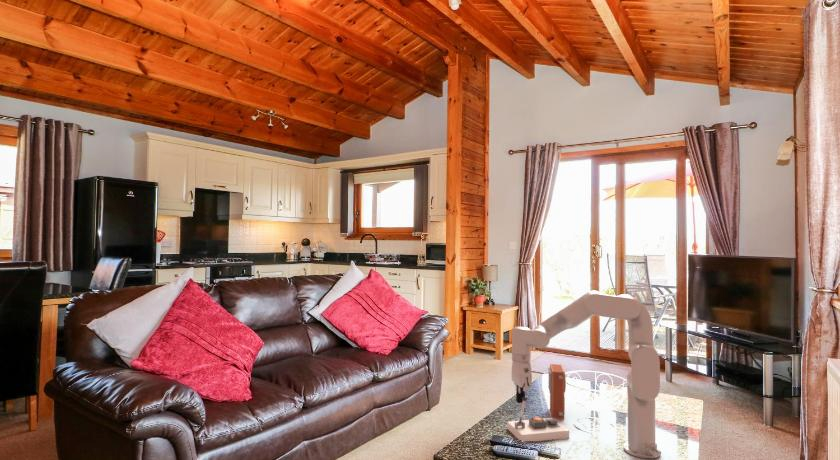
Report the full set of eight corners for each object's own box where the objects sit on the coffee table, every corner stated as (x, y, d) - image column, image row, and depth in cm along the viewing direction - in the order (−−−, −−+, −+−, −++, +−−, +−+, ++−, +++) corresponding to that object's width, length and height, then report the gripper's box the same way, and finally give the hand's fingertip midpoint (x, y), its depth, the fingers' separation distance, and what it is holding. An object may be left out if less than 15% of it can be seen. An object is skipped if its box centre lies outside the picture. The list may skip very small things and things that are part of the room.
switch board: (569, 437, 189) (569, 424, 190) (521, 442, 185) (521, 428, 185) (552, 424, 203) (552, 411, 203) (507, 428, 198) (507, 415, 198)
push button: (543, 424, 193) (543, 420, 193) (535, 425, 192) (535, 420, 192) (539, 421, 196) (539, 416, 196) (531, 422, 195) (531, 417, 195)
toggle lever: (522, 426, 192) (528, 398, 187) (518, 427, 191) (523, 398, 187) (520, 423, 194) (526, 394, 189) (516, 423, 193) (521, 395, 189)
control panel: (562, 408, 222) (566, 420, 208) (547, 407, 224) (550, 419, 209) (562, 363, 223) (566, 372, 208) (547, 363, 224) (550, 371, 210)
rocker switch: (557, 423, 194) (557, 420, 194) (550, 423, 193) (550, 420, 193) (552, 420, 198) (552, 418, 198) (545, 421, 197) (545, 418, 197)
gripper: (538, 361, 185) (537, 408, 185) (521, 352, 200) (521, 395, 199) (520, 362, 183) (519, 409, 183) (505, 353, 198) (504, 396, 198)
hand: (520, 401), depth 191 cm, fingers closed
